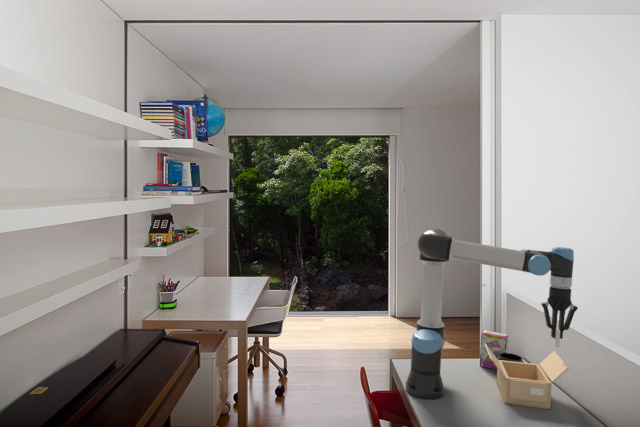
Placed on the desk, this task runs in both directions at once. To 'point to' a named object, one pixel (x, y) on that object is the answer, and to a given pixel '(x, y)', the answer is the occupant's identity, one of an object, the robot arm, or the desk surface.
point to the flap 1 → (494, 359)
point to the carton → (524, 384)
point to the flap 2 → (554, 366)
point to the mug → (510, 357)
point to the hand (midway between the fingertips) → (556, 346)
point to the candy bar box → (492, 347)
